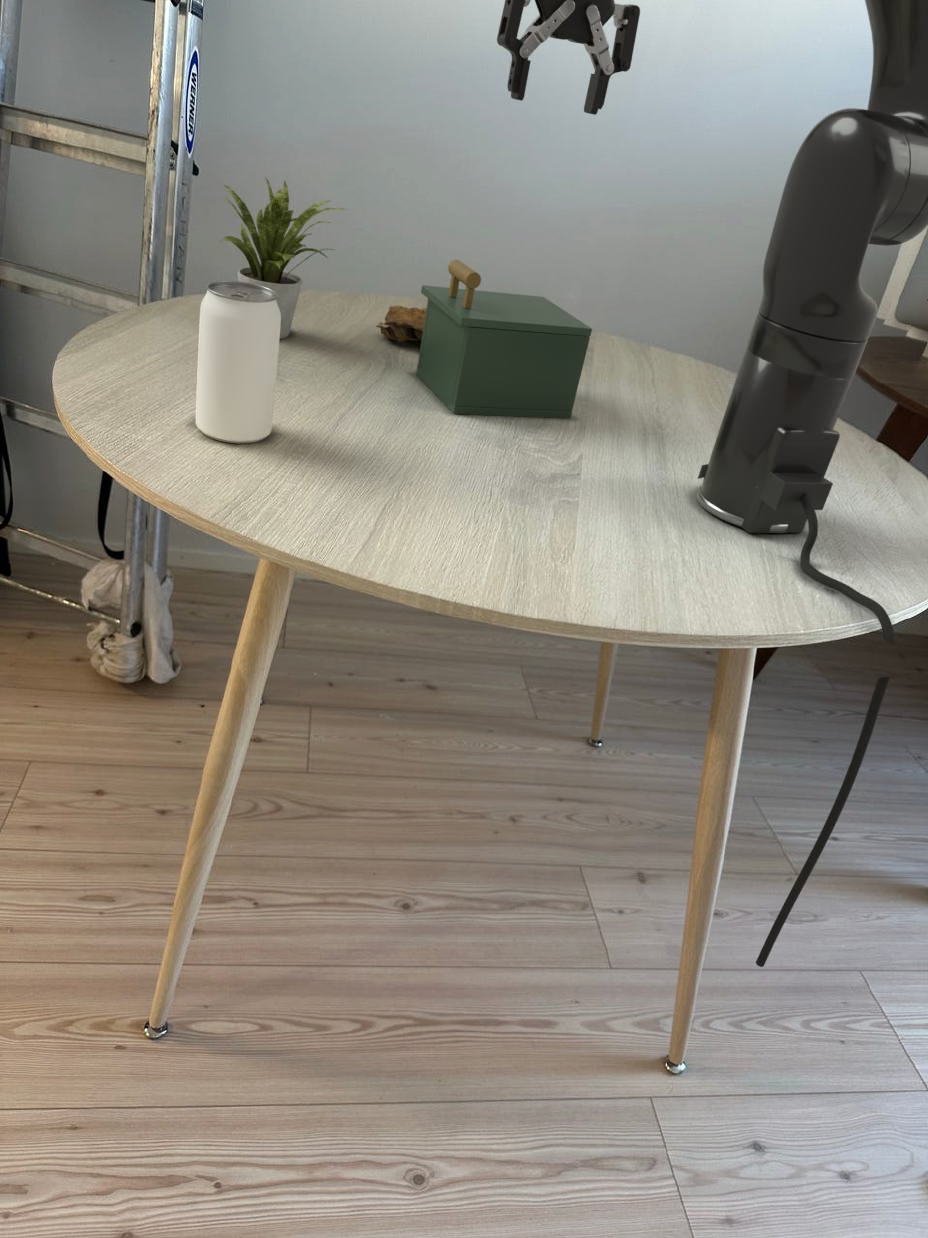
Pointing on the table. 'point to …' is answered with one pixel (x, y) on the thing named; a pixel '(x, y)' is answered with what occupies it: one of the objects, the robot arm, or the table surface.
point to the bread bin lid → (499, 307)
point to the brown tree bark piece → (403, 323)
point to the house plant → (275, 249)
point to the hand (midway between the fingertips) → (554, 106)
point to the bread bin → (500, 368)
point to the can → (237, 361)
